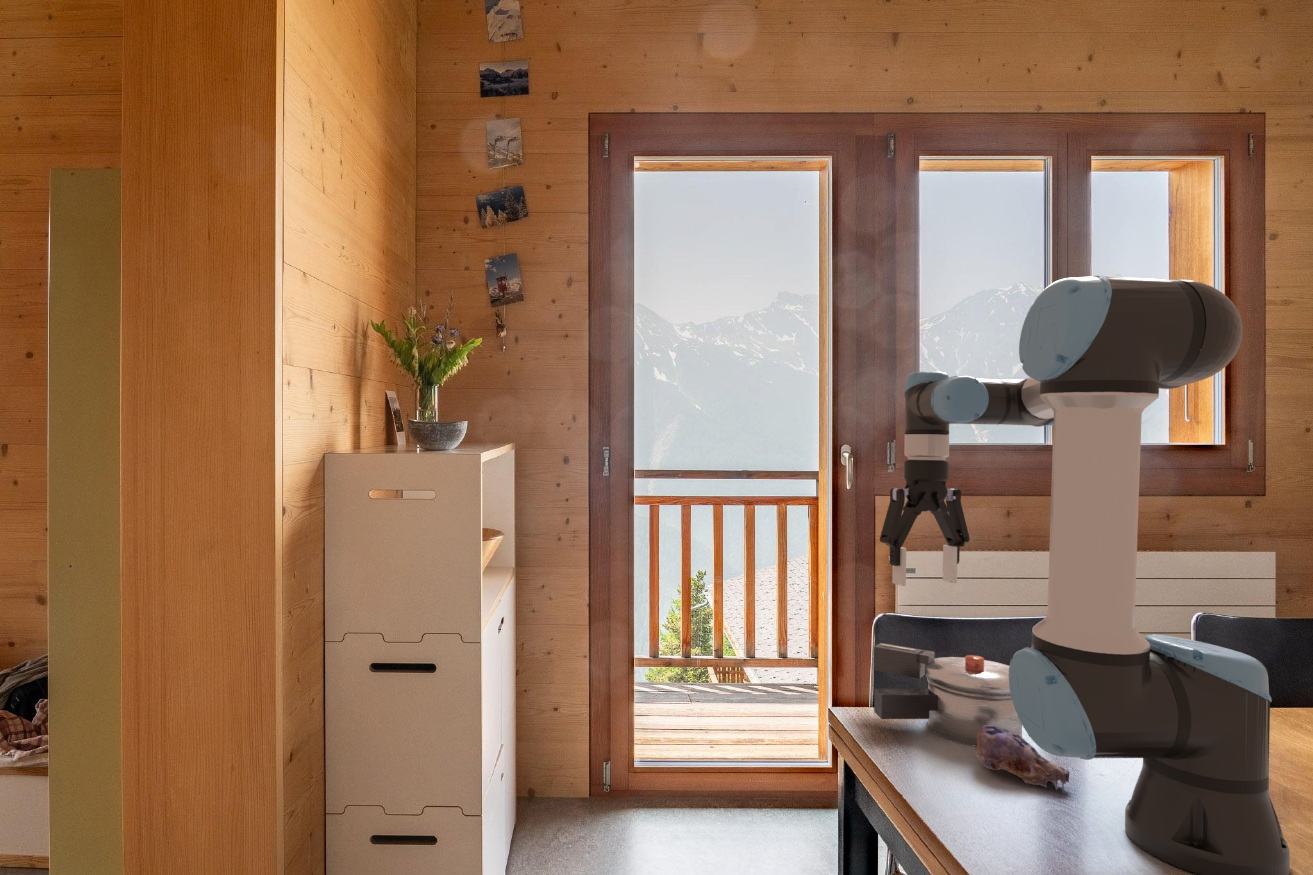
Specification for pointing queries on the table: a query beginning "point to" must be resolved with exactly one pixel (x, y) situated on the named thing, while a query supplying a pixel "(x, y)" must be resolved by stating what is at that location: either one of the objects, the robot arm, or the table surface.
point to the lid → (944, 669)
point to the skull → (1016, 757)
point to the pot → (949, 710)
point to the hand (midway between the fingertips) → (924, 583)
